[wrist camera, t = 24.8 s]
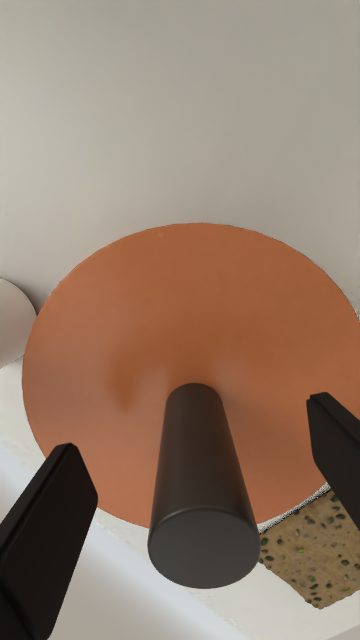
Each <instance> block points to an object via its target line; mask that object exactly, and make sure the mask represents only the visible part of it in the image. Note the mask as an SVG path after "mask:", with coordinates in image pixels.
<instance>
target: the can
mask: <svg viewBox="0 0 360 640" xmlns="http://www.w3.org/2000/svg"><path fill="white" fill-rule="evenodd" d="M36 317H37V316H36V312H35V310H34V308H33V306H32V304H31V302H30V300H29V299H28V298H27V296H26V295H25V294H24V293H23V292H22V291H21V290H20V289H19V288H18V287H16V286H15V285H13V284H12V283H10V282H8V281H6V280H4V279H2V278H0V369H1V368H3V367H4V366H6V365H8V364H10V363H11V362H13V361H15V360H16V359H18V358H20V357H21V356H23V355H24V354H25V349H26V344H27V340H28V338H29V335H30V332H31V329H32V327H33V324H34V321H35V319H36Z"/></svg>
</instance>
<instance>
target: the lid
mask: <svg viewBox="0 0 360 640" xmlns="http://www.w3.org/2000/svg"><path fill="white" fill-rule="evenodd" d="M22 390H23V401H24V406H25V410H26V414H27V418H28V422H29V425H30V427H31V430H32V432H33V435H34V437H35V440H36V442H37V443H38V445H39V447H40V449H41V451H42V453H43V454H44V456H45V458H47V457H48V456H49V454H50V453H51V451H52V450H53V449H54V447H55V446H57V445H60V444H65V443H73V444H74V445H76V446H77V447H78V449H79V451H80V453H81V456H82V458H83V460H84V463H85V465H86V468H87V470H88V472H89V475H90V477H91V479H92V482H93V484H94V486H95V489H96V491H97V493H98V504H97V507H98V508H100V509H102V510H103V511H105V512H107V513H109V514H111V515H113V516H115V517H117V518H120V519H122V520H125V521H127V522H130V523H132V524H135V525H139V526H142V527H146V528H149V535H148V544H147V546H148V553H149V557H150V560H151V562H152V564H153V565H154V567H155V568H156V569H157V571H158V572H159V573H161V574H162V575H163V576H164V577H166V578H167V579H169V580H170V581H172V582H174V583H177V584H179V585H182V586H186V587H190V588H198V589H211V588H219V587H223V586H227V585H230V584H232V583H235V582H237V581H239V580H241V579H242V578H244V577H245V576H246V575H248V574H249V573H250V572H251V571H252V570H253V568H254V567H255V566H256V564H257V562H258V560H259V557H260V553H261V539H260V535H259V532H258V528H257V525H256V524H259V523H262V522H265V521H267V520H269V519H272V518H274V517H276V516H279V515H281V514H283V513H284V512H286V511H288V510H290V509H292V508H293V507H295V506H297V505H298V504H300V503H301V502H303V501H304V500H305V499H307V498H308V497H310V496H311V495H312V494H314V493H315V492H316V491H317V490H318V489H319V488H320V487H322V486H323V485H324V484H325V483H326V482H327V481H326V480H325V478H324V477H323V475H322V474H321V472H320V471H319V469H318V468H317V466H316V464H315V462H314V459H313V456H312V448H311V440H310V432H309V424H308V415H307V407H306V400H307V399H310V395H311V394H316V393H321V392H328V393H329V394H330V395H332V396H333V397H334V398H335V399H336V400H337V401H338V402H339V403H341V404H342V405H343V406H344V407H345V408H346V409H347V410H349V411H350V412H351V413H352V414H353V415H354V416H355V417H356V418H358V419H359V420H360V322H359V320H358V317H357V315H356V313H355V311H354V309H353V307H352V306H351V304H350V303H349V301H348V300H347V298H346V297H345V295H344V294H343V292H342V291H341V289H340V288H339V287H338V286H337V285H336V284H335V283H334V282H333V280H332V279H331V278H330V277H329V276H328V275H327V274H326V273H325V272H324V271H323V270H322V269H321V268H320V267H318V266H317V265H316V264H315V263H313V262H312V261H311V260H310V259H308V258H307V257H306V256H305V255H303V254H302V253H300V252H298V251H296V250H295V249H293V248H291V247H289V246H288V245H286V244H284V243H283V242H281V241H278V240H276V239H273V238H271V237H268V236H266V235H263V234H261V233H258V232H255V231H251V230H247V229H243V228H239V227H234V226H230V225H220V224H210V223H187V224H173V225H167V226H162V227H157V228H152V229H147V230H144V231H141V232H138V233H135V234H132V235H129V236H126V237H124V238H121V239H119V240H117V241H115V242H113V243H111V244H109V245H108V246H106V247H104V248H102V249H100V250H98V251H97V252H95V253H94V254H92V255H91V256H90V257H88V258H87V259H85V260H84V261H83V262H81V263H80V264H78V265H77V266H76V267H75V268H74V269H73V270H72V271H71V272H70V273H69V274H68V275H67V276H66V277H65V278H64V279H63V280H62V281H61V282H60V283H59V284H58V285H57V287H56V288H55V289H54V291H53V292H52V293H51V295H50V296H49V297H48V298H47V300H46V301H45V303H44V305H43V307H42V308H41V310H40V312H39V314H38V316H37V317H36V319H35V321H34V324H33V327H32V329H31V332H30V335H29V338H28V340H27V344H26V349H25V354H24V359H23V369H22Z"/></svg>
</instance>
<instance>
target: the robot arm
mask: <svg viewBox="0 0 360 640" xmlns="http://www.w3.org/2000/svg"><path fill="white" fill-rule="evenodd" d="M306 407H307V415H308V424H309V432H310V440H311V448H312V456H313V459H314V462H315V464H316V466H317V468H318V469H319V471H320V472H321V474H322V475H323V477H324V478H325V480H326V481H327V483H328V484H329V486H330V487H331V489H332V490H333V492H334V493H335V495H336V496H337V498H338V499H339V501H340V502H341V504H342V505H343V507H344V508H345V510H346V512H347V513H348V515H349V516H350V518H351V519H352V521H353V522H354V524H355V525H356V527H357V528H358V530H359V531H360V420H359V419H358V418H356V417H355V416H354V415H353V414H352V413H351V412H350V411H349V410H347V409H346V408H345V407H344V406H343V405H342V404H341V403H339V402H338V401H337V400H336V399H335V398H334V397H333V396H332V395H330V394H329V393H328V392H321V393H316V394H311V395H310V399H307V400H306ZM97 504H98V493H97V491H96V489H95V486H94V484H93V482H92V479H91V477H90V475H89V472H88V470H87V468H86V465H85V463H84V460H83V458H82V456H81V453H80V451H79V449H78V447H77V446H76V445H74V444H73V443H65V444H60V445H57V446H55V447H54V449H53V450H52V451H51V453H50V454H49V456H48V457H47V458H46V460H45V461H44V463H43V464H42V466H41V467H40V468H39V470H38V471H37V473H36V474H35V476H34V477H33V478H32V480H31V481H30V483H29V484H28V486H27V487H26V488H25V490H24V491H23V493H22V494H21V495H20V497H19V498H18V500H17V501H16V503H15V504H14V506H13V507H12V508H11V510H10V511H9V513H8V514H7V515H6V517H5V518H4V520H3V521H2V523H1V524H0V640H47V639H48V638H49V636H50V635H51V633H52V631H53V628H54V626H55V623H56V620H57V617H58V614H59V611H60V609H61V606H62V603H63V600H64V597H65V594H66V592H67V589H68V586H69V583H70V581H71V578H72V575H73V572H74V569H75V567H76V564H77V561H78V558H79V555H80V552H81V550H82V547H83V544H84V541H85V538H86V536H87V533H88V530H89V527H90V524H91V522H92V519H93V516H94V513H95V510H96V508H97Z"/></svg>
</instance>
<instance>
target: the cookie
mask: <svg viewBox="0 0 360 640" xmlns="http://www.w3.org/2000/svg"><path fill="white" fill-rule="evenodd" d="M260 539H261V553H260V557H259V560H258V562H259V563H261V564H264V565H265V566H266V568H267V569H268V570H271V571H272V572H273V573H274V574H275V575H277V576H279V577H280V578H281V579H283V580H284V581H285V582H287V583H288V584H290V585H291V586H292V587H293V588H294V590H296V591H297V592H298V593H299V594H300V595H301V596H302V597H303V598H304V599H305V601H306V602H307V603H310V604H312V605H313V606H314V607H315V608H318V609H323V608H324V607H328V606H330V605H332V604H333V603H335V602H336V601H339V600H342V599H343V598H345V597H347V596H351V595H352V594H353V593H354V592H356V591H358V590H360V531H359V530H358V528H357V527H356V525H355V524H354V522H353V521H352V519H351V518H350V516H349V515H348V513H347V512H346V510H345V508H344V507H343V505H342V504H341V502H340V501H339V499H338V498H337V496H336V495H335V493H334V492H333V490H332V491H330V492H328V493H327V494H323V495H322V496H321V497H320V498H318V499H317V500H315V501H314V502H312V503H311V502H310V503H308V504H307V506H306V507H304V508H303V509H301V510H297V511H295V512H294V514H292V515H290V516H289V517H288V518H286V519H285V520H283V521H282V522H280V523H278V524H277V525H275V526H273V527H272V528H270V529H269V530H266V531H264V532H263V533H262V534H261V535H260Z"/></svg>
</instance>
